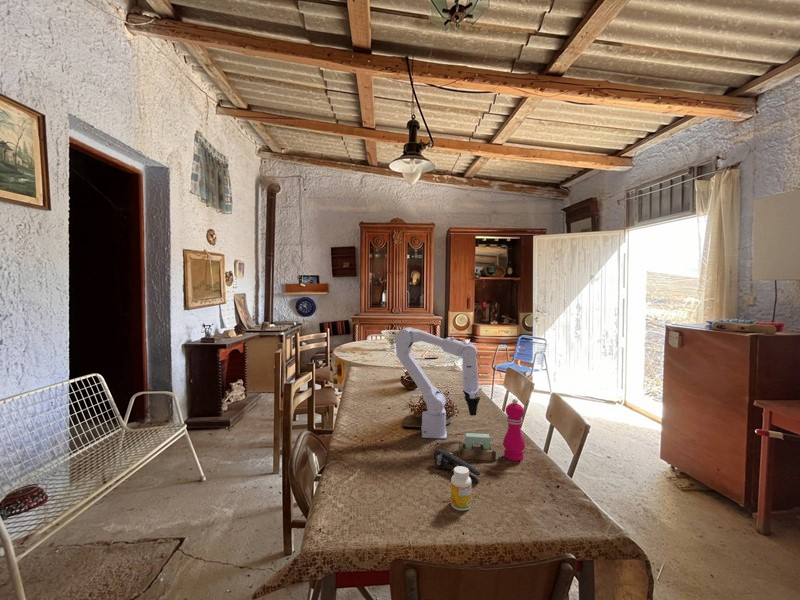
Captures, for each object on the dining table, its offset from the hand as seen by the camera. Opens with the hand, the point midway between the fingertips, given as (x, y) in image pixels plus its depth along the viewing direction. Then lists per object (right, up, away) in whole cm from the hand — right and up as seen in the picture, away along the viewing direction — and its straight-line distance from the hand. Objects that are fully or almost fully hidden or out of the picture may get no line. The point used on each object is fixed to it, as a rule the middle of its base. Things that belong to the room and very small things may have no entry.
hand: (472, 411), depth 142 cm
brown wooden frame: (-1, -11, -13) cm, 17 cm away
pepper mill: (+12, -11, -14) cm, 22 cm away
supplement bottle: (-11, -13, -42) cm, 45 cm away
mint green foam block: (-1, -11, -13) cm, 17 cm away
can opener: (-10, -12, -25) cm, 29 cm away
